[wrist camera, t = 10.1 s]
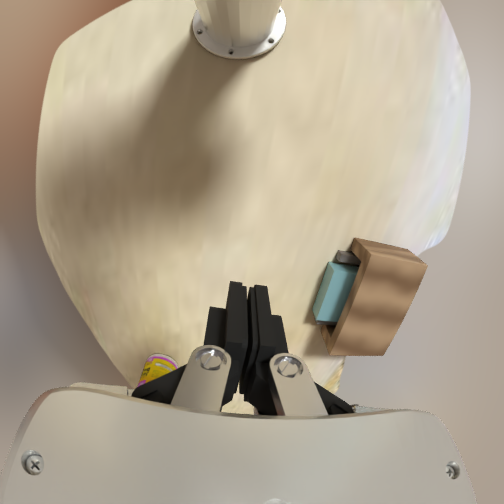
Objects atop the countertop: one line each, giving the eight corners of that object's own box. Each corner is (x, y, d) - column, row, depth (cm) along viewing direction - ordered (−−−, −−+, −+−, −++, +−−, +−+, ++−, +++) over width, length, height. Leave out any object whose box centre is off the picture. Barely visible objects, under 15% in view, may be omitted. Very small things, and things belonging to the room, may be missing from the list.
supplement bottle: (153, 347, 47) (135, 398, 35) (183, 361, 49) (172, 414, 37) (143, 365, 49) (126, 413, 38) (172, 378, 51) (160, 427, 39)
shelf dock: (342, 235, 40) (359, 252, 34) (407, 249, 41) (427, 265, 35) (310, 329, 46) (318, 354, 40) (370, 333, 48) (383, 355, 42)
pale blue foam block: (328, 261, 41) (334, 270, 38) (389, 272, 42) (397, 280, 40) (312, 309, 45) (316, 320, 42) (371, 315, 46) (377, 324, 43)
